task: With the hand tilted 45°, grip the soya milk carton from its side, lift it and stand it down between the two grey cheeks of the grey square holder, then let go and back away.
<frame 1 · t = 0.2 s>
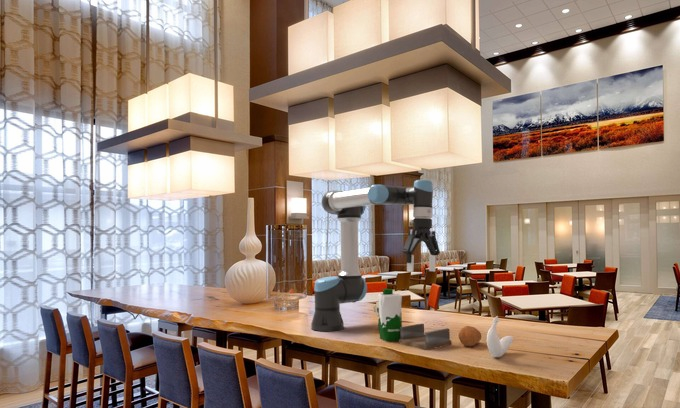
hand: (421, 271, 173), 28 cm above the table, tool pointing down, fingers open, 13 cm apart
potato: (470, 345, 165), on the table
grey square holder: (424, 343, 168), on the table
white bird figurine: (500, 357, 148), on the table
white and green figurine: (384, 331, 193), on the table
soya milk: (390, 339, 176), on the table
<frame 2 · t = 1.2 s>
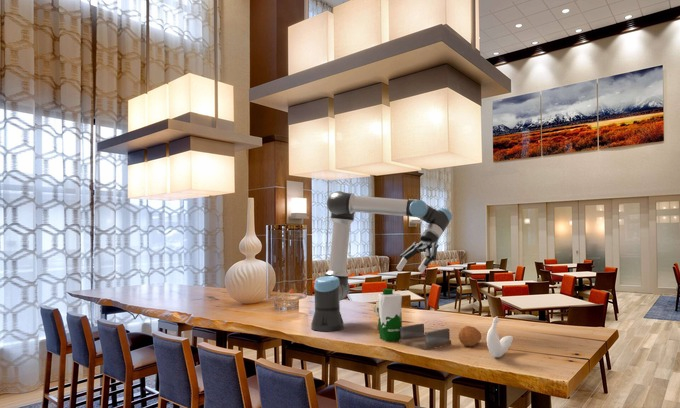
hand: (408, 270, 190), 27 cm above the table, tool tilted 45°, fingers open, 13 cm apart
nothing on the table moved.
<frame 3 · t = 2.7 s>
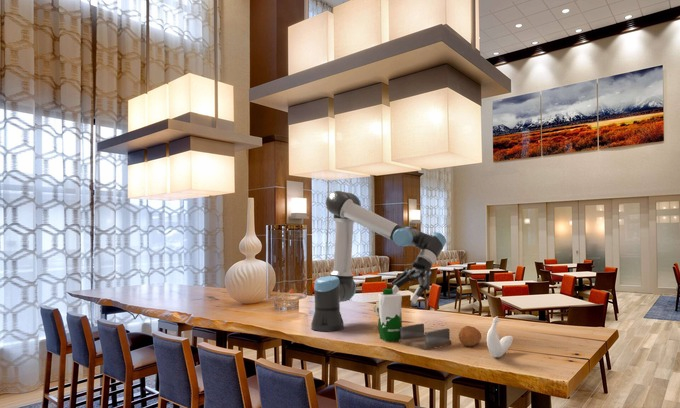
hand: (400, 300, 179), 15 cm above the table, tool tilted 45°, fingers open, 13 cm apart
nothing on the table moved.
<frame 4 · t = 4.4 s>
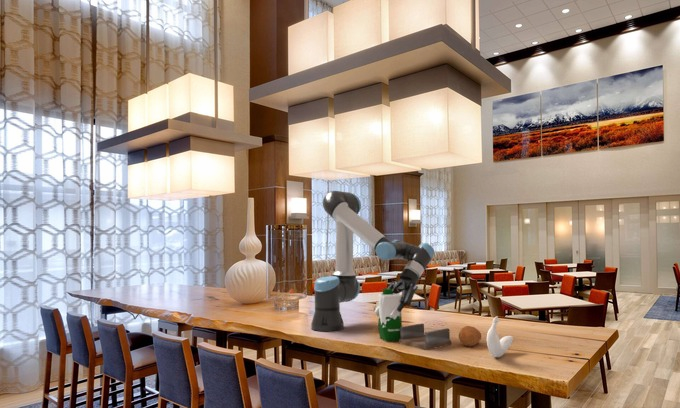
hand: (384, 315, 175), 10 cm above the table, tool tilted 45°, fingers closed on soya milk, 9 cm apart
soya milk: (390, 339, 176), on the table, touching gripper
everything else where it was.
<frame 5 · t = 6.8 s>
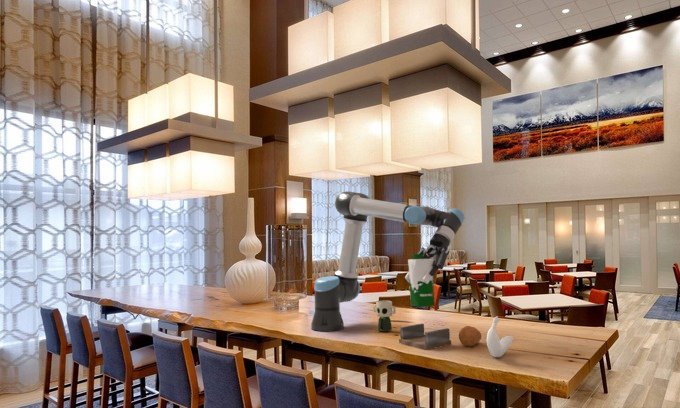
hand: (415, 280, 168), 24 cm above the table, tool tilted 45°, fingers closed on soya milk, 9 cm apart
soya milk: (422, 306, 169), point 14 cm above the table, touching gripper
everything else where it was.
when the fingers open (12 cm above the table, at t = 9.6 s): soya milk stays where it is, resting on grey square holder.
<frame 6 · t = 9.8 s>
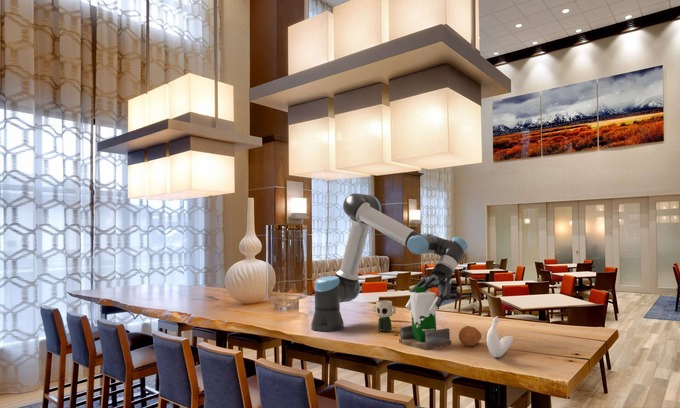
hand: (419, 310, 167), 13 cm above the table, tool tilted 45°, fingers open, 12 cm apart
soya milk: (424, 340, 168), point 1 cm above the table, touching grey square holder
everything else where it was.
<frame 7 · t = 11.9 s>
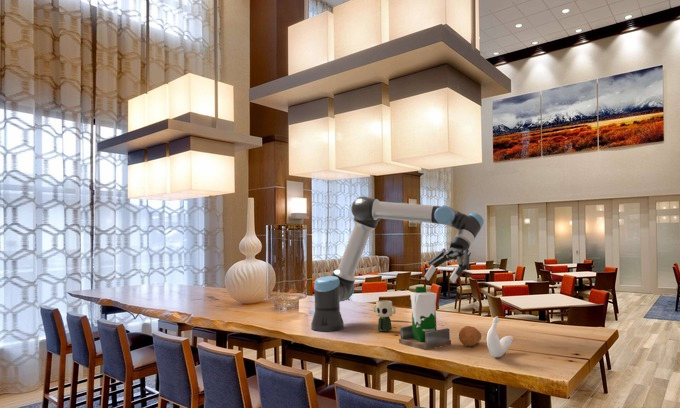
hand: (438, 279, 177), 24 cm above the table, tool tilted 45°, fingers open, 13 cm apart
nothing on the table moved.
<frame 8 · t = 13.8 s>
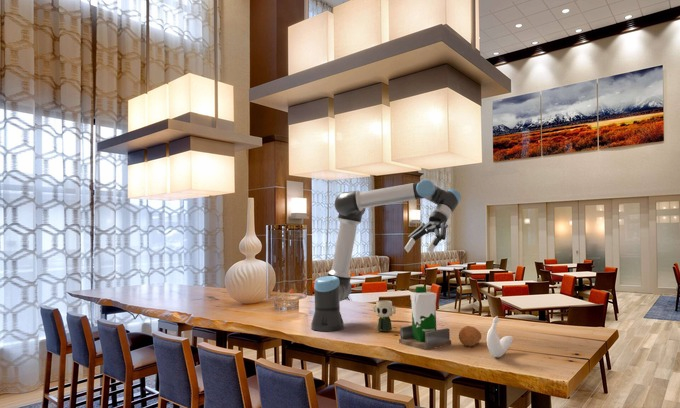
hand: (417, 250, 186), 36 cm above the table, tool tilted 45°, fingers open, 13 cm apart
nothing on the table moved.
at the end: soya milk inside the target area on the grey square holder (0.2 cm from its centre), point 1.3 cm above the grey square holder's base; soya milk tilted 0°; the gripper is holding nothing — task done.
